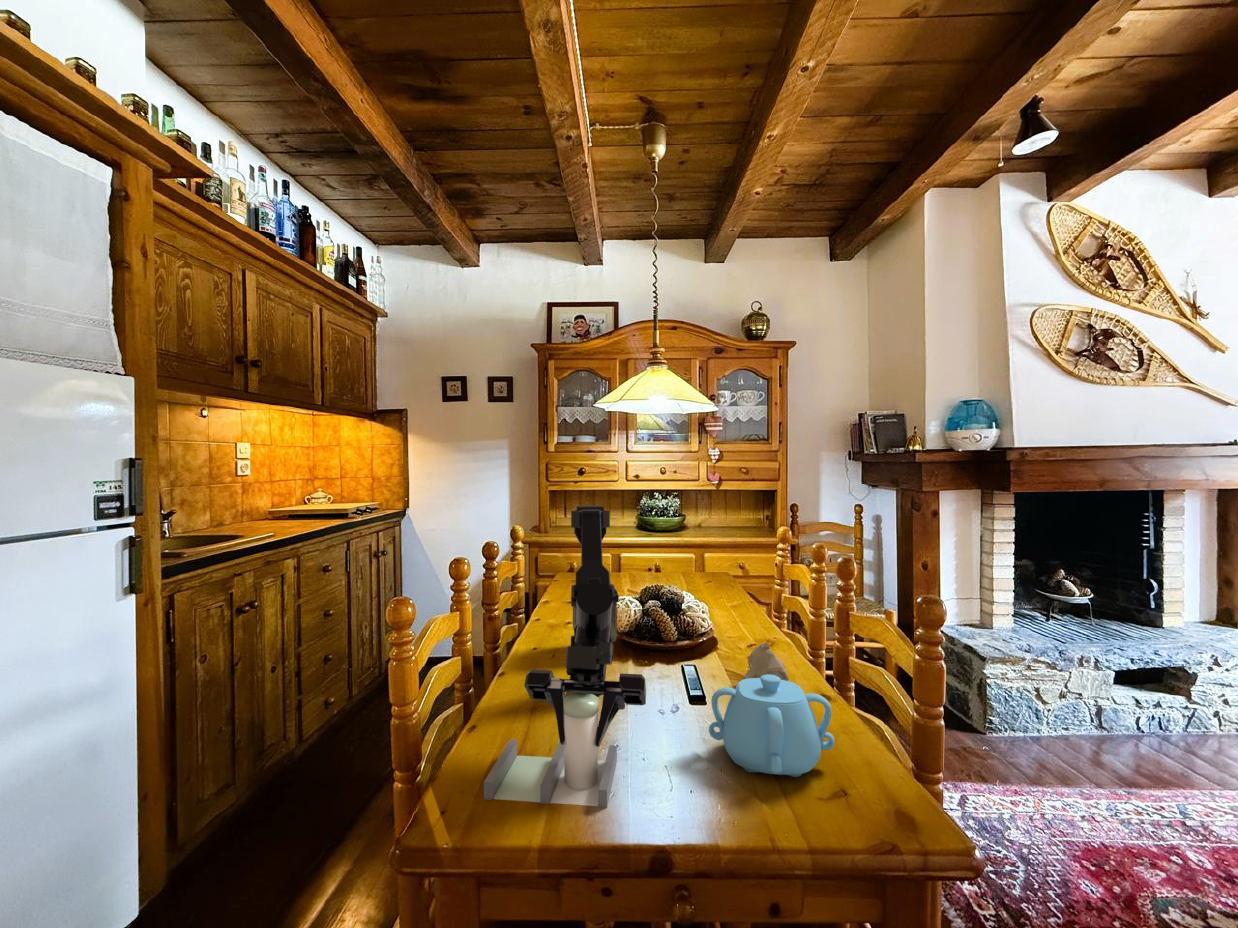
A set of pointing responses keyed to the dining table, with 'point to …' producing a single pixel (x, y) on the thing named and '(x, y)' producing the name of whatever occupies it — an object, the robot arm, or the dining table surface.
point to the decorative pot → (771, 726)
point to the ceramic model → (765, 664)
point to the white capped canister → (580, 741)
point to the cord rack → (545, 779)
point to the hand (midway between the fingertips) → (579, 744)
